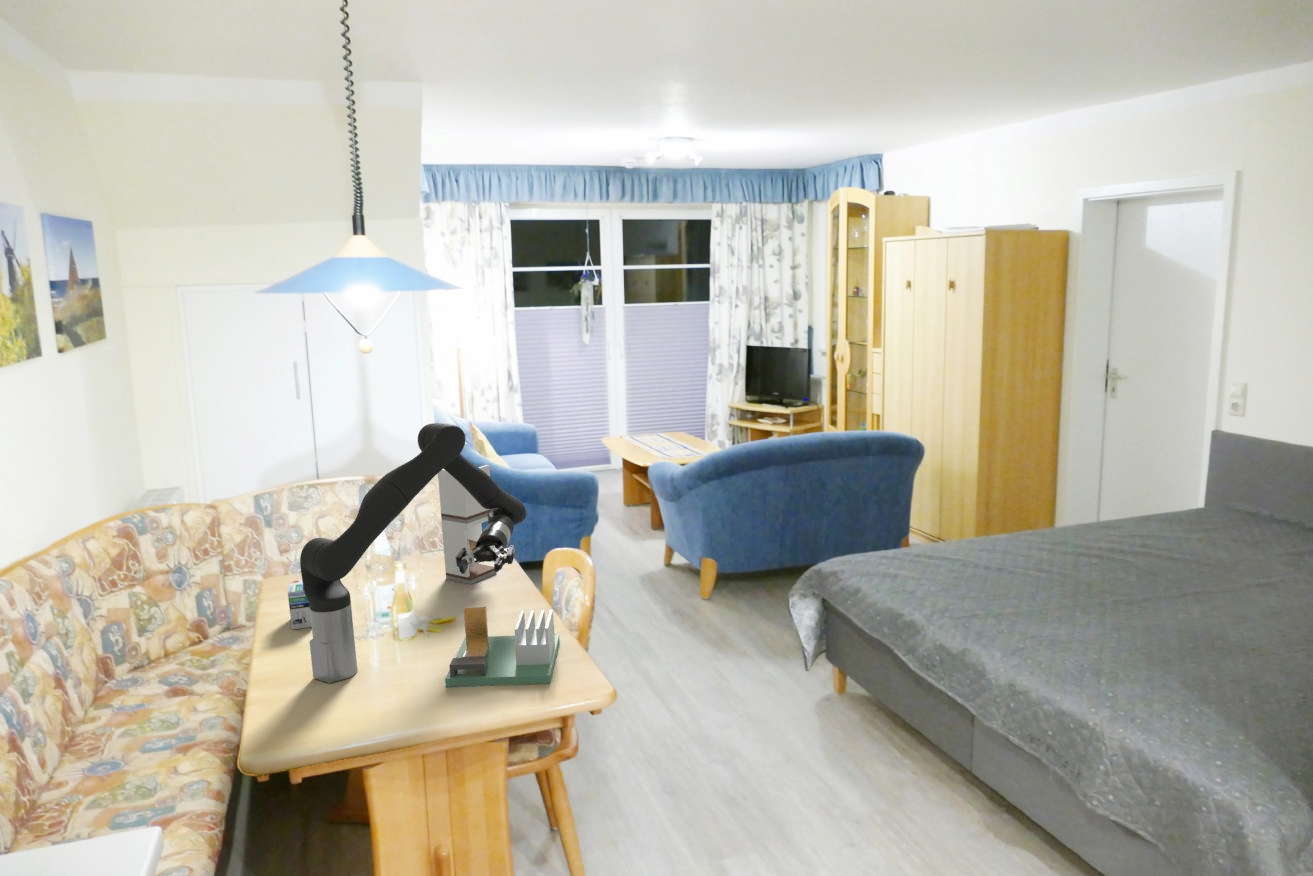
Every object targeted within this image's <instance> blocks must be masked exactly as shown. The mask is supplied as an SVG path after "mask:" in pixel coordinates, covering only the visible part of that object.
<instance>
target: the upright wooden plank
mask: <svg viewBox="0 0 1313 876" xmlns="http://www.w3.org/2000/svg"><path fill="white" fill-rule="evenodd" d="M463 614H464V615H463V619H464V629H465V632H464V633H465V637H466V647H467V649H466V651H465V653H464V655H463V657H486V656H487V653H488V651H489V642H488V637H489V632H488V616H487V607H486V606H481V607H479V606H478V607H477V606H475V607H464V608H463Z"/></svg>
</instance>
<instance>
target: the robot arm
mask: <svg viewBox="0 0 1313 876" xmlns="http://www.w3.org/2000/svg"><path fill="white" fill-rule="evenodd" d="M417 444H418V447H419V450H420V451H421V452H420V453H418V454H417V455H416V456H415V457H414V458H412V459H410V460H409V461H407V462H405V463H403V464H401V465H400V466H398V467H396V468H394V469H393V470H390V471H388V472H387V473H386V474H385V475H383V476H382V477H381V478H380V479H379V480H378V481H377V482H376V483H375V484H374V485H373V486H371V488H370V489H369V490H368V491H367V492H366V494H365V496H363V498H362V501H361V504H360V506H359V509H358V511H357V515H356V517H355V519H354V520H353V522H352V524H351V525H350V526H348V528H347V529H346V530H345V531H344V532H343V533H342V534H341V535H340V536H338V537H337V538H336V539H334V540H332V539H330V538H325V537H316V538H313V539H311V540H309V541H308V542H307V543H306V544H305V545H304V546H303V548H302V550H301V552H300V553H301V554H300V557H299V566H300V573H301V574H300V575H301V580H302V581H303V588H304V593H305V596H306V598H307V600H308V602H309V607H310V615H311V625H312V627H311V632H312V633H311V635H312V638H311V639H310V640H309V649H310V651H309V652H310V658H311V659H310V660H311V667H312V669H311V670H312V678H313V679H315V680H319V681H322V682H324V683H328V684H331V683H333V682H339V681H343V680H347V679H349V678H352V677H353V676H355V674H357V672H358V660H357V651H356V642H355V631H354V630H355V629H354V621H353V611H352V600H351V593H350V590H348V588H346V586H345V585H344V584H343V582H342V581H341V579H343V578H344V577H346V576H347V575H348V574H349V573H350V572H351V571H352V570H353V569H354V567H355V566H356V565H357V563H358V562H359V561H360V559H361V558H362V557H363V555H364V554H365V553H366V551H367V550H368V548H370V546H371V545H372V544H373V543H374V541H375V540H376V539H377V538H378V537H379V536H380V535H381V534H382V533H383V532H384V530H385V529H386V528H388V526H389V525H390V524H391V523H392V522H393V521H394V520H395V519H396V518H397V517H398V516H399V515H400V514H401V513H402V512H403V511H405V510H404V509H406V508H407V506H409V504H410V503H411V502H412V501H413V500H414V498H415V497H417V495H418V494H419V493H420V492H421V491H422V490H423V489H425V488H426V486H427V485H428V484H429V483H430V482H431V481H432V480H433V478H435V477H436V476H438V473H439V472H440V471H441V470H442V469H444V470H446V471H447V472H448V473H449V474H450V475H451V476H453V477H454V478H455V479H456V480H457V481H458V482H459V483H460V484H461V485H462V486H463V487H464V488H465V489H466V490H467V491H468V492H469V493H470V494H471V495H472V496H473V497H474V498H475V500H476V501H477V502H478V503H479V504H480V505H481V506H482V507H483V508H485V509H491V510H490V511H489V513H488V521H487V525H486V526H485V528H484V529H482V534H481V535H480V537H479V539H478V541H477V543H476V547H475V548H474V549H472V550H471V551H467V550H466V548H462V549H461V551H460V552H459V553H458V555H457V556H456V563H457V567H459V570H460V572H461V574H465V572H466V570H467V568H468V567H469V566H471V565H473V566H474V565H476V564H481V563H484V562H486V563H487V562H490V563H491V562H494V565H493V567H494V568H495V572H497V573H499V571H501V570H502V569H503V567H504V566H505V565H506V564H507V565H512V564H513V563H514V559H515V556H516V552H515V551H516V550H515V545H514V544H511V545H509V543H510V540H511V537H512V535H513V532H514V529H515V528H514V527H515V526H516V525H519V524H520V523H523V521H525V520H526V518H527V509H526V507H525V505H524V504H523V502H521V500H519V499H518V498H517V497H516V496H513V495H512V494H510V493H508V492H507V491H505V490H503V489H502V488H500V486H499V484H497V483H496V481H495V480H494V479H493V478H492V477H491V475H490V476H489V475H488V474H486V473H485V472H484V471H483V470H481V469H480V468H479V467H480V466H479V467H478V466H477V465H476V464H474V463H472V462H471V461H470V460H469V459H467V458H466V457H464V456H463V454H461V453H462V452H463V449H464V447H465V444H466V434H465V431H464V430H463V428H461V427H460V426H458V425H455V424H451V423H439V422H436V423H435V422H433V423H427V424H425V425H424V426H423V427H422V428H421V429H420V430H419V432H418V434H417ZM505 554H506V555H505ZM467 559H469V562H468V563H467Z"/></svg>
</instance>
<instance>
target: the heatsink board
mask: <svg viewBox="0 0 1313 876" xmlns="http://www.w3.org/2000/svg"><path fill="white" fill-rule="evenodd" d="M529 613H530V614H529V617H528V619H527V622H526V620H525V619H526V618H525V610H521V611H520V614H519V616H518V619H517V620H516V621H517V622H516V625H515V628H514V635H499V636H498V635H493V636H488V642H489V651H488V653H487V656H486V657H463V655H464V653H465V651H466V649H467V647H466V636H465V637H464V639H463V641H462V643H461V645H460V647H459V650H458V651H457V654H456V656H455V657H452V659H451V661H450V663H449V670H448V673H447V675H446V676H445V678H444V682H445V688H456V687H458V688H459V687H460V688H461V687H483V686H484V687H485V686H487V687H488V686H513V685H514V686H516V685H517V686H518V685H543V684H544V685H545V684H547V685H548V684H551V682H552V676H553V672H554V667H555V663H556V659H557V655H558V649H559V645H560V641H561V640H560V634H559V633H555V623H554V622H555V621H554V609H549V612H548V616H547V620H546V614H545V609H541V610H540V615H539V618H538V621H537V623H536V618H535V617H536V615H535V609H531V611H530V612H529ZM525 622H526V623H525Z"/></svg>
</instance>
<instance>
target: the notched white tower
mask: <svg viewBox="0 0 1313 876" xmlns="http://www.w3.org/2000/svg"><path fill="white" fill-rule="evenodd" d="M479 468H480V469H481V470H483V471H484V472H485V473H486V474H488V475H489V476H490V477H491V469H490V468H491V467H490V465H489V464H485V465H481V466H479ZM437 479H438V492H439V505H440V507H439V508H440V517H441V529H442V541H443V542H442V544H443V555H444V556H443V557H444V567H445V569H444V571H445V578H446V580H450V581H454V582H459V583H462V584H463V583H464V584H467V585H472V584H475V583H478V582H479V581H483V580H485V579H487V578H489V577H492V576H494V575H497V574H498V572H495V568H494V565H493V566H491V565H486V564H483V563H478V564H476V565H474V566H473V565H471V566H469V567H468V568H467V570H466V572H465V574H461V572H460V570H459V567H457V563H456V556H457V555H458V553H459V552H460V551H461V549H462V548H466V550H467V551H471V550H472V549H474V548H475V547H476V543H477V541H478V539H479V537H480V535H481V534H482V532H483V526H482V524H483V523H485V522H488V513H489V511H490V510H491V509H485V508H483V507H482V506H481V505H480V504H479V503H478V502H477V501H476V500H475V498H474V497H473V496H472V495H471V494H470V493H469V492H468V491H467V490H466V489H465V488H464V487H463V486H462V485H461V484H460V483H459V482H458V481H457V480H456V479H455V478H454V477H453V476H451V475H450V474H449V473H448V472H447V471H446V470H444V469H442V470H441V471H440V472H439V473H438V474H437ZM468 562H469V559H467V563H468Z"/></svg>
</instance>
